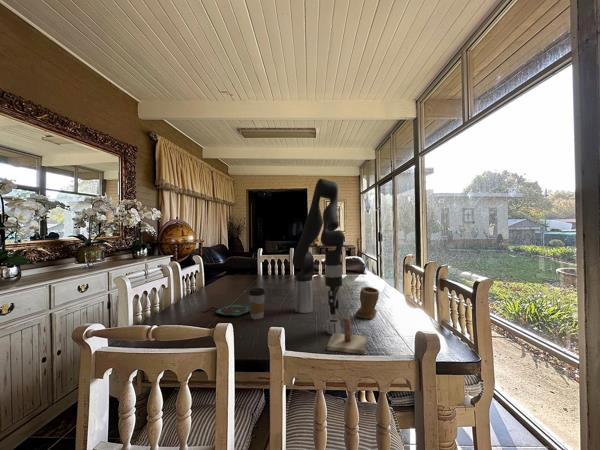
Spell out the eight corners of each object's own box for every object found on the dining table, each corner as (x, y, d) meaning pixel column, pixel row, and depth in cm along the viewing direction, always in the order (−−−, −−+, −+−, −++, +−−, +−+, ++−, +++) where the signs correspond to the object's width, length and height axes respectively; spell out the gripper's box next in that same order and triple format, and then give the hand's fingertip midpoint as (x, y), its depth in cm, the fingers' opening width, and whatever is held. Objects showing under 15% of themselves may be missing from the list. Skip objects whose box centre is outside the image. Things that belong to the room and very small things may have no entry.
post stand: (326, 349, 110) (326, 322, 110) (333, 336, 124) (333, 312, 124) (364, 354, 106) (363, 325, 106) (367, 339, 119) (366, 314, 119)
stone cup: (376, 321, 142) (376, 291, 142) (353, 318, 147) (352, 289, 147) (382, 313, 156) (381, 285, 156) (360, 310, 161) (360, 283, 161)
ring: (325, 333, 127) (325, 322, 127) (328, 329, 132) (328, 318, 132) (339, 335, 125) (338, 323, 125) (341, 330, 131) (341, 319, 131)
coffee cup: (268, 317, 152) (267, 288, 152) (259, 321, 144) (259, 291, 144) (255, 315, 155) (254, 287, 156) (245, 319, 148) (245, 290, 148)
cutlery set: (238, 320, 148) (238, 315, 148) (194, 314, 161) (194, 310, 161) (259, 310, 166) (259, 306, 166) (219, 305, 179) (219, 302, 179)
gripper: (328, 272, 137) (329, 306, 137) (321, 277, 123) (322, 315, 123) (344, 272, 135) (345, 307, 134) (339, 277, 121) (340, 316, 121)
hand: (334, 311), depth 129 cm, fingers open, 8 cm apart
